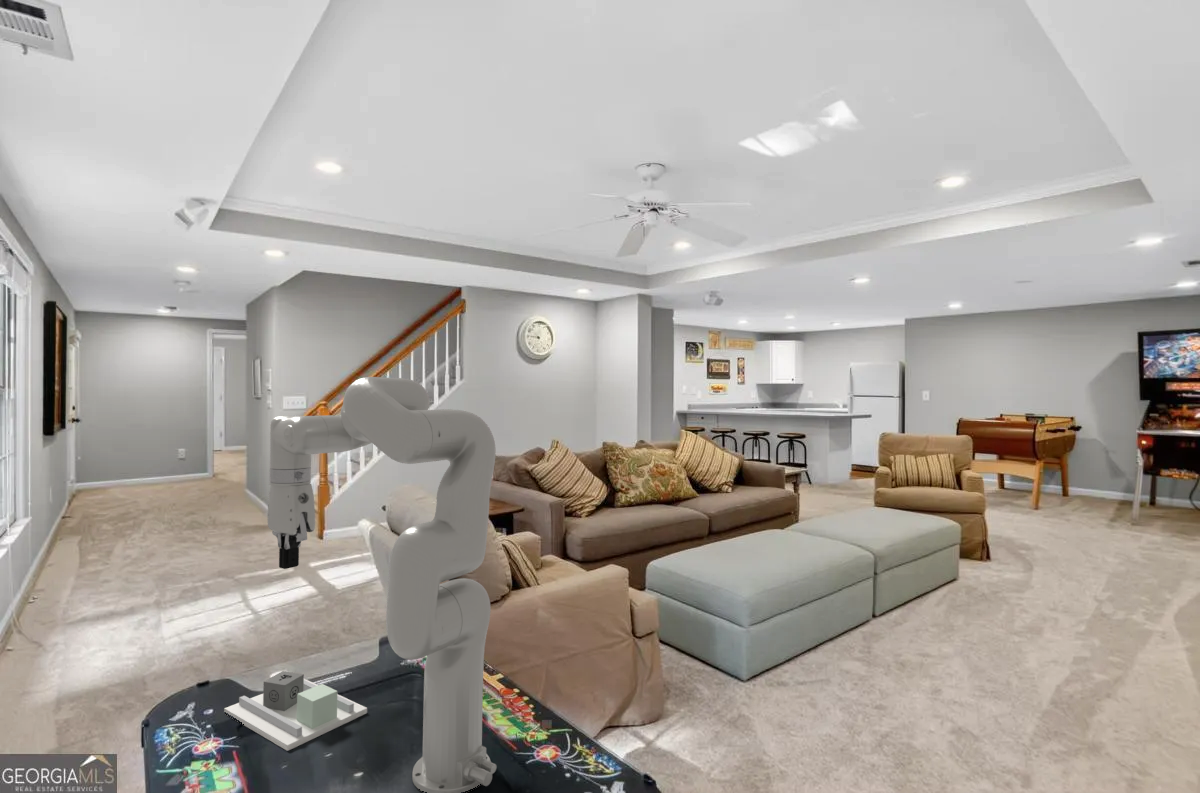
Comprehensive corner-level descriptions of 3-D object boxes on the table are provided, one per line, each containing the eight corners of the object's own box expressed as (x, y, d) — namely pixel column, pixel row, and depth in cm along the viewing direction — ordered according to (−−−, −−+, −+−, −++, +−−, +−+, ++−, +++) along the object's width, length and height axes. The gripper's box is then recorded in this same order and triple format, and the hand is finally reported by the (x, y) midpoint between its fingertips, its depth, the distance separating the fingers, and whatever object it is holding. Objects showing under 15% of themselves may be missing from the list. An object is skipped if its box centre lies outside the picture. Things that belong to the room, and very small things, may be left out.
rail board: (366, 713, 122) (367, 682, 122) (287, 751, 108) (287, 716, 108) (302, 682, 134) (303, 654, 134) (224, 713, 120) (224, 682, 120)
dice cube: (303, 699, 125) (303, 674, 125) (284, 711, 120) (284, 685, 120) (282, 695, 126) (283, 670, 126) (263, 707, 121) (263, 681, 121)
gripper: (329, 477, 125) (327, 569, 125) (287, 472, 134) (286, 557, 134) (293, 481, 119) (291, 577, 119) (252, 475, 127) (250, 565, 127)
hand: (288, 566), depth 126 cm, fingers closed
